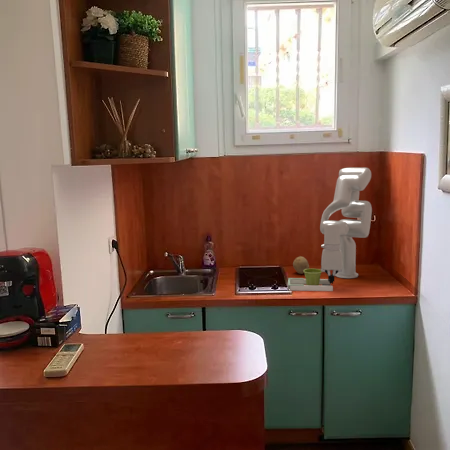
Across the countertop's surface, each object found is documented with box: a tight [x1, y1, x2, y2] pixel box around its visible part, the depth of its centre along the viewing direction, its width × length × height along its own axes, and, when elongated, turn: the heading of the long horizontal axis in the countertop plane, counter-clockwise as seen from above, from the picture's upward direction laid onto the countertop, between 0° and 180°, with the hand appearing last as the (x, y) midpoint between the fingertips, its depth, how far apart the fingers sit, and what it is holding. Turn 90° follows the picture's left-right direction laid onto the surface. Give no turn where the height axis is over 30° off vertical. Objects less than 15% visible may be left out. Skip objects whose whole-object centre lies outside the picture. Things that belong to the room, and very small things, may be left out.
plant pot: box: [303, 268, 323, 285], centre depth 237 cm, size 9×9×9 cm
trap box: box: [287, 277, 334, 292], centre depth 238 cm, size 13×22×3 cm, turn 82°
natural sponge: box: [292, 255, 310, 275], centre depth 265 cm, size 9×9×10 cm
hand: (331, 282), depth 236 cm, fingers closed
